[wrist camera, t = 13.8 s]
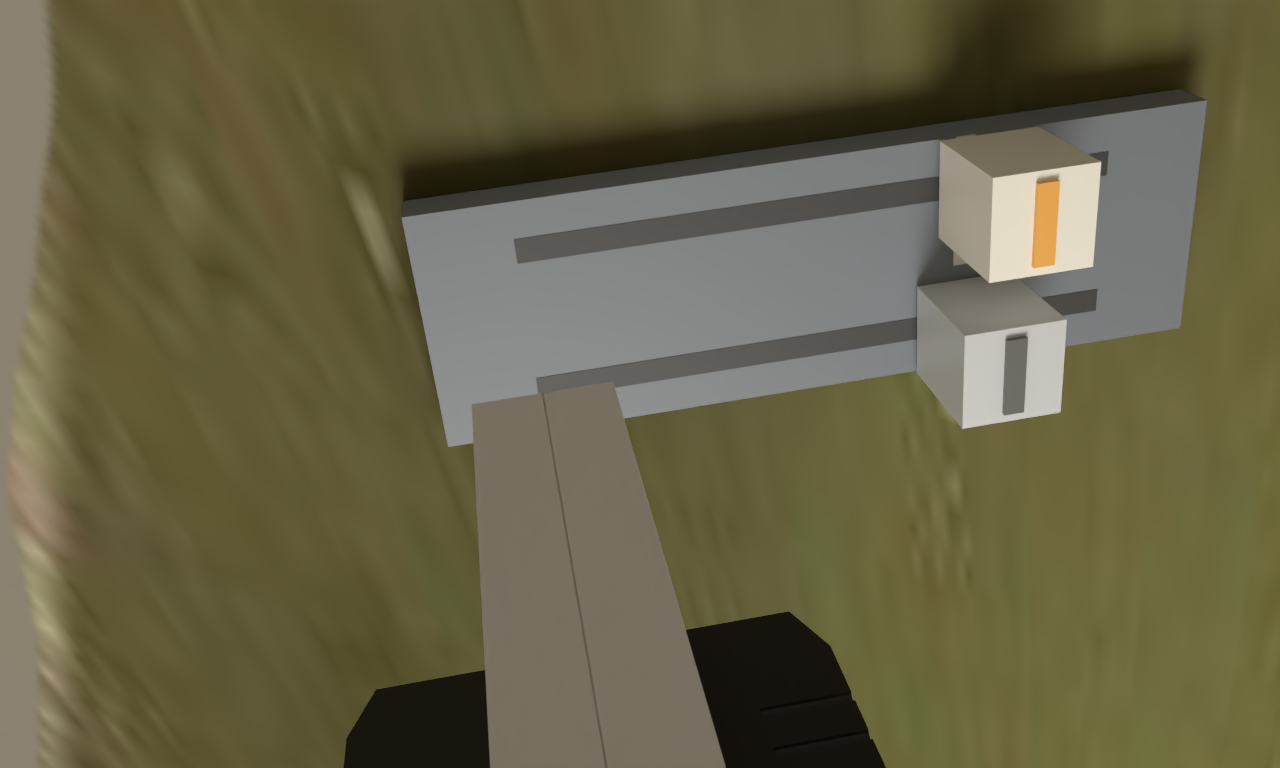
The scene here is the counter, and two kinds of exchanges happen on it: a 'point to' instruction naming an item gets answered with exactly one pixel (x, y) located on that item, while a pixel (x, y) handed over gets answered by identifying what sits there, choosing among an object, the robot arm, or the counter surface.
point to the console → (772, 262)
